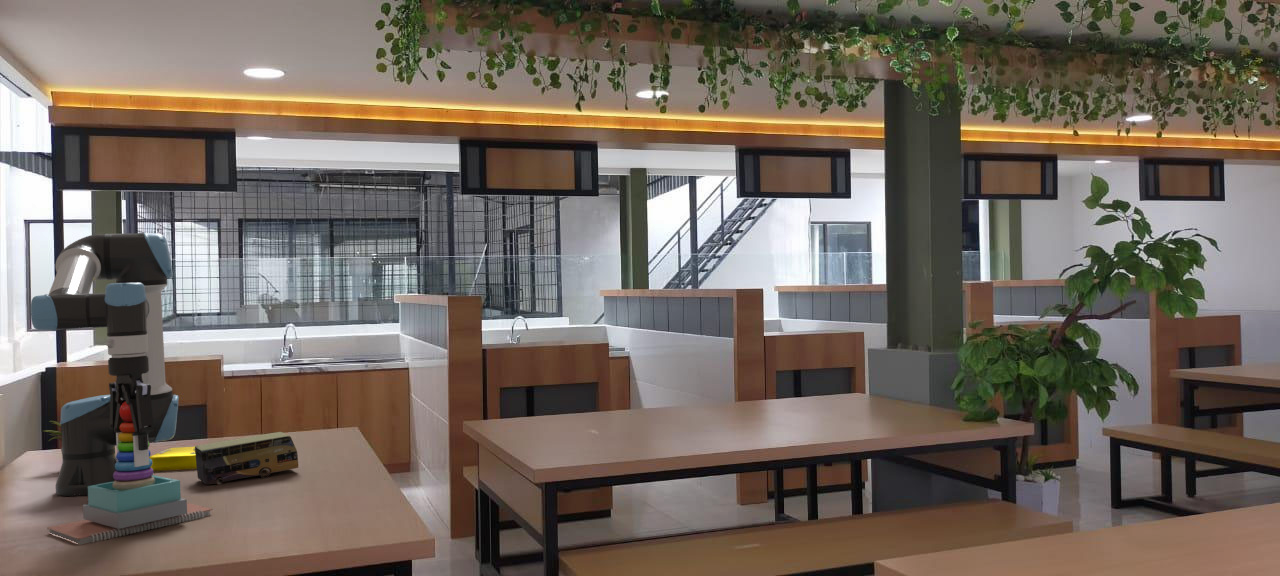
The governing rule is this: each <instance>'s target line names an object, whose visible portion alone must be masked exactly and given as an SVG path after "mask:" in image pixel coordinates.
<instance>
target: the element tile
mask: <svg viewBox="0 0 1280 576" xmlns="http://www.w3.org/2000/svg"><path fill="white" fill-rule="evenodd" d="M149 458H150V459H151V460H152V466H151V467H150V468H152V469H153V472H160V471H161V472H164V471H165V472H166V471H181V470H197V466H196V455H195V446H185V447H184V446H182V447H170V448H166V449H164V450H162V451H159V452H157V453H155V454H153V455H150V457H149Z"/></svg>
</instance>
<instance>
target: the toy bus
mask: <svg viewBox="0 0 1280 576" xmlns="http://www.w3.org/2000/svg"><path fill="white" fill-rule="evenodd" d="M194 447H195V455H196V466H197V469H196V473H197V478H198V480H199V481H201V482H202V483H203V484H204V485H212V484H216V485H218V486H219V485H222V484H223V483H224V482H229V481H230V482H231V481H233V480H240V479H245V478H246V479H247V478H250V477H257V476H260V477H261V478H262V479H267V478H269V477H270V475H271V474H273V473H278V472H282V471H289V470H295V469H298V468H299V456H298V451H297V448H296V445H295V443H294V441H293V438H292V437H291V435H289V434H287V433H284V432H282V431H278V432H271V433H266V434H258V435H253V436H246V437H240V438H236V439H235V438H234V439H229V440H228V439H227V440H224V441H217V442H210V443H205V444H204V443H203V444H199V445H195V446H194ZM266 477H267V478H266Z"/></svg>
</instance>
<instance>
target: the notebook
mask: <svg viewBox="0 0 1280 576" xmlns="http://www.w3.org/2000/svg"><path fill="white" fill-rule="evenodd" d="M211 511H213V509H212V508H210V507H206V506H201V505H197V504H193V503H191V502H190V503H189V502H187V514H183V515H178V516H174V517H170V518H165V519H161V520H156V521H152V522H148V523H143V524H139V525H134V526H130V527H125V528H121V529H117V528H113V527H110V526H106V525H103V524H99V523H95V522H92V521H88V520H85V519H83V520H82V519H81V520H77V521H72V522H67V523H63V524H59V525H58V524H57V525H54V526H50V527H49V526H48V527H46V529H47V530H49V533H52V534H55V535H58V536H61V537H63V538H66V539H69V540H71V541H74V542H76V543H78V544H80V545H84V543H85V544H89V543H95V542H99V541H101V542H102V541H103V540H105V541H106V540H107V539H108V540H110V539H114V538H118V537H122V536H123V537H124V536H126V535H127V536H128V535H133V534H136V533H140V532H141V533H143V531H144V532H146V531H147V530H148V531H150V529H151V530H154V529H157V528H158V529H159V528H161V527H162V528H164V526H165V527H168V526H171V525H173V526H174V525H175V524H178V523H179V524H181V522H182V523H184V522H187V523H188V521H189V522H191V520H192V521H195V520H198V519H199V520H200V519H201V518H202V519H204V517H209V516H211Z"/></svg>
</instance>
